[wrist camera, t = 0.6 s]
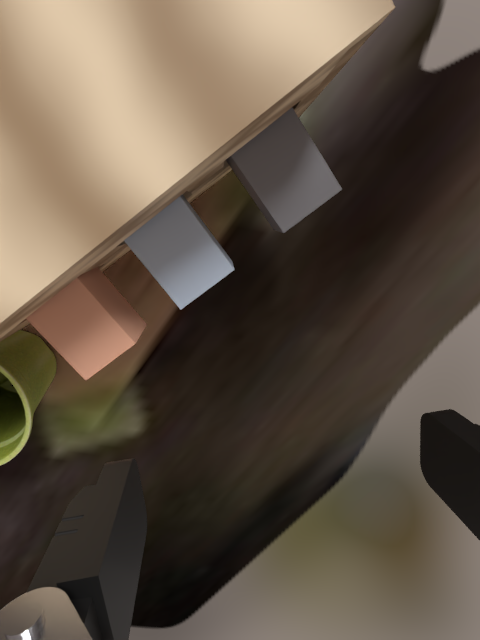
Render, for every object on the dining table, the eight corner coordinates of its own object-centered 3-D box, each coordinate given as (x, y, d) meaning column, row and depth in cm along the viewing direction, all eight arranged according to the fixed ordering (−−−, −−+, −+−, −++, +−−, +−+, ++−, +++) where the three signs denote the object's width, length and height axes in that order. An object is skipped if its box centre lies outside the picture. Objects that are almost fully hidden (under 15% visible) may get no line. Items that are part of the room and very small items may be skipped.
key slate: (176, 185, 24) (168, 181, 20) (232, 260, 26) (234, 269, 22) (128, 223, 25) (112, 226, 21) (186, 295, 26) (180, 309, 22)
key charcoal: (271, 110, 23) (281, 90, 19) (323, 192, 25) (342, 189, 21) (219, 151, 24) (220, 139, 20) (273, 229, 25) (283, 233, 21)
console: (229, 1, 27) (246, -293, 11) (299, 116, 29) (395, 7, 13) (-25, 218, 30) (-291, 228, 14) (57, 307, 32) (-94, 398, 16)
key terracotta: (88, 256, 25) (65, 264, 21) (147, 324, 27) (135, 343, 23) (44, 291, 26) (13, 305, 22) (104, 356, 27) (85, 380, 23)
